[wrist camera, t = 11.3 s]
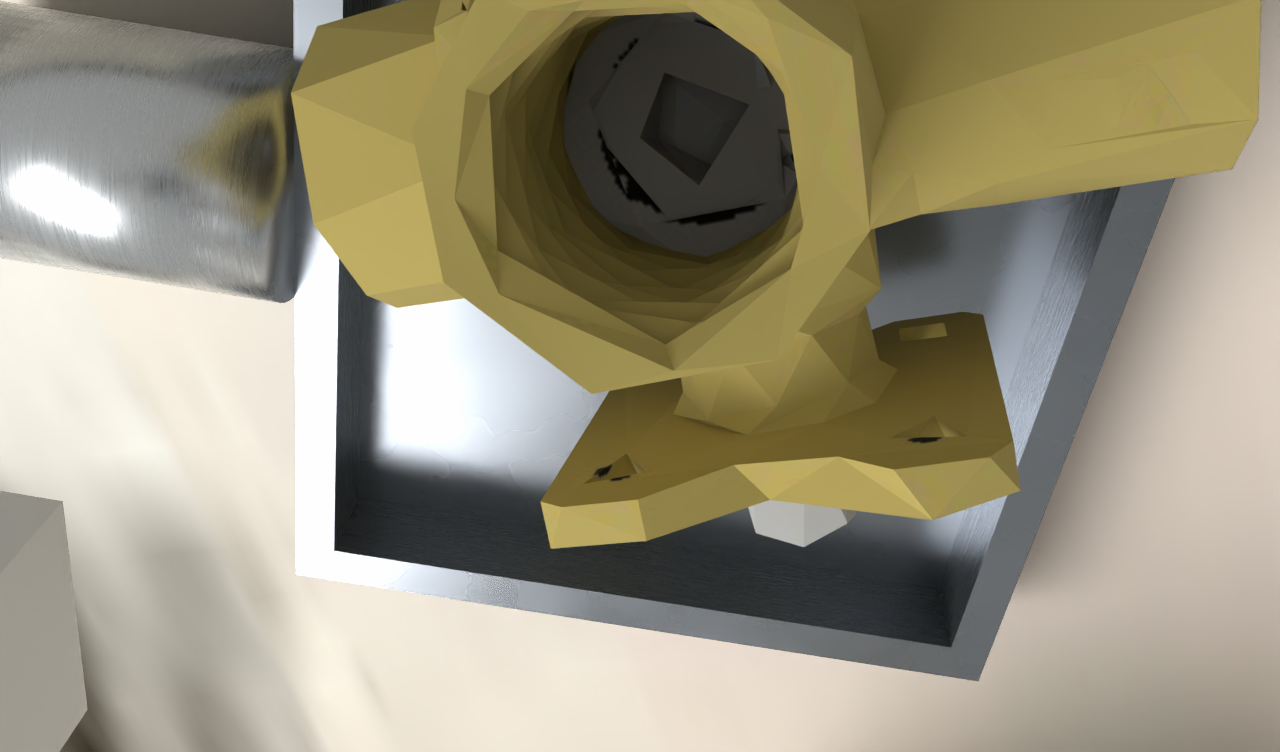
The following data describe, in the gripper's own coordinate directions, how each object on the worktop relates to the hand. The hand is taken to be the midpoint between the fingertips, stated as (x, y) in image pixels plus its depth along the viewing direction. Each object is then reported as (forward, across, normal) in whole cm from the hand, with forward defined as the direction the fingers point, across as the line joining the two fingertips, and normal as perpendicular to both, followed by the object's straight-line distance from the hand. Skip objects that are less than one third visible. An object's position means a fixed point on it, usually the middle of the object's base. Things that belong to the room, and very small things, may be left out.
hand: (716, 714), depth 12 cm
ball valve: (+12, -1, -2) cm, 12 cm away
